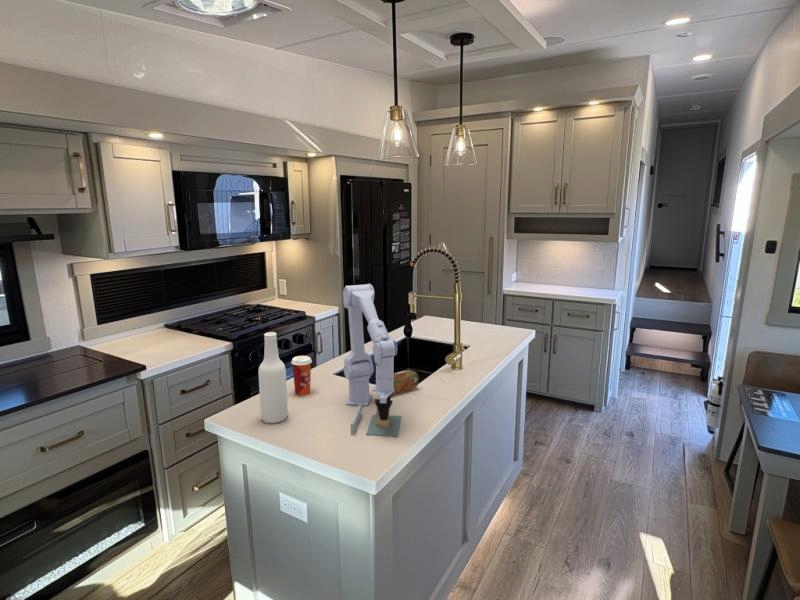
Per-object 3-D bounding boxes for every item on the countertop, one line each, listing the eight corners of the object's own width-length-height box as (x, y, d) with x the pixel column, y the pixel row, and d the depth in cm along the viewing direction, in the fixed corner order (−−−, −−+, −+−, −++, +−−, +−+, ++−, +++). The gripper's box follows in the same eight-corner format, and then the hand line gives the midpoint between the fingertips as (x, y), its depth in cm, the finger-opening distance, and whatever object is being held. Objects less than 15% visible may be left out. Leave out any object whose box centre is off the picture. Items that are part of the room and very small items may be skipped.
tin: (387, 398, 171) (387, 377, 169) (382, 395, 174) (383, 374, 172) (419, 389, 179) (419, 369, 178) (414, 386, 182) (414, 367, 180)
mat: (372, 415, 157) (372, 414, 157) (401, 416, 156) (401, 415, 156) (366, 434, 143) (366, 434, 143) (397, 436, 142) (397, 435, 142)
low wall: (358, 414, 157) (358, 405, 156) (361, 414, 157) (361, 405, 156) (350, 434, 144) (350, 423, 143) (353, 434, 143) (353, 424, 143)
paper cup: (306, 398, 170) (305, 362, 167) (288, 395, 173) (287, 360, 170) (316, 390, 177) (315, 356, 175) (299, 387, 180) (298, 354, 177)
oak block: (377, 421, 151) (377, 404, 150) (389, 421, 151) (389, 405, 150) (376, 427, 148) (376, 410, 146) (388, 427, 147) (388, 410, 146)
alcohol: (257, 416, 155) (252, 332, 149) (282, 410, 160) (278, 328, 154) (266, 426, 148) (261, 338, 142) (292, 419, 153) (288, 334, 147)
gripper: (374, 367, 153) (374, 404, 156) (370, 384, 139) (370, 424, 142) (395, 367, 153) (394, 405, 156) (393, 384, 139) (392, 425, 142)
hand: (384, 414), depth 149 cm, fingers open, 7 cm apart
